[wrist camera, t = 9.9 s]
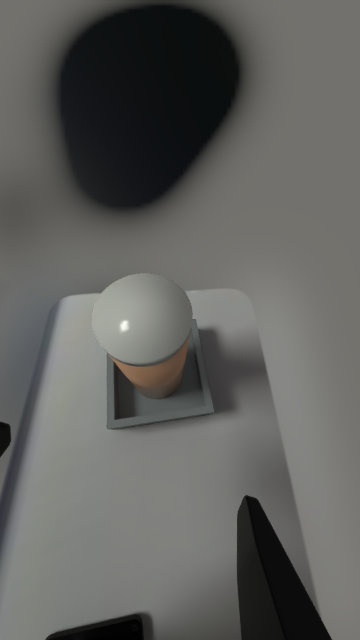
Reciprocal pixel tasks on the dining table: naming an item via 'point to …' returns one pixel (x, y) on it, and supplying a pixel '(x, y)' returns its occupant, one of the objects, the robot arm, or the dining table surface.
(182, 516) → the dining table surface
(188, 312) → the brown cylinder grey top
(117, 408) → the tray
